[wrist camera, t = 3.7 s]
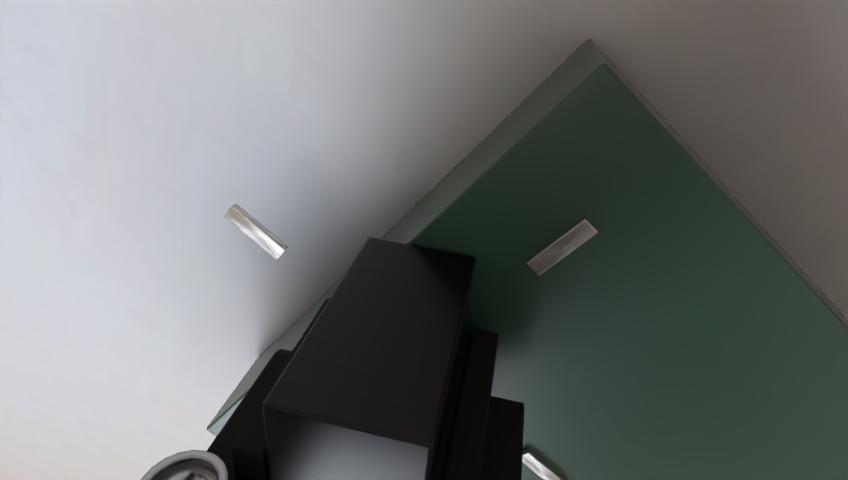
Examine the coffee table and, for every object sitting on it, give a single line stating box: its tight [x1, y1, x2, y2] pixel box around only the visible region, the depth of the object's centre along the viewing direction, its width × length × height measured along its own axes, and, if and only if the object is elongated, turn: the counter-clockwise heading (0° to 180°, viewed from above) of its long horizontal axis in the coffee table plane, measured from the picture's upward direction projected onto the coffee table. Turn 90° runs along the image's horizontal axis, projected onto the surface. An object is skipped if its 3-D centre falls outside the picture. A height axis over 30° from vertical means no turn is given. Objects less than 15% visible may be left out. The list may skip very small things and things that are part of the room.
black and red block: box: [263, 237, 476, 480], centre depth 9 cm, size 6×2×5 cm, turn 175°
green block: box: [207, 39, 848, 480], centre depth 13 cm, size 14×15×3 cm
